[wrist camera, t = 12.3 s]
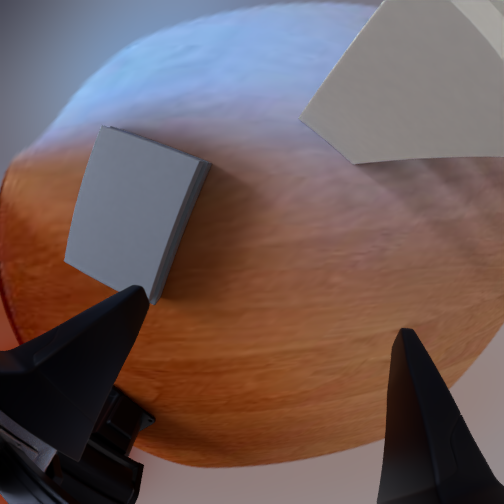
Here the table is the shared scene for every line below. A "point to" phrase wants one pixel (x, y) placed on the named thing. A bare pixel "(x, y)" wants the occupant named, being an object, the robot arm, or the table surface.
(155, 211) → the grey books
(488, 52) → the slim cream book
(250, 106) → the table surface
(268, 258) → the table surface
